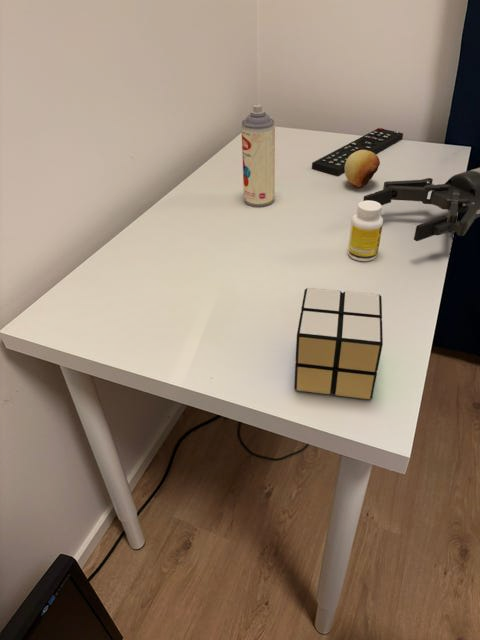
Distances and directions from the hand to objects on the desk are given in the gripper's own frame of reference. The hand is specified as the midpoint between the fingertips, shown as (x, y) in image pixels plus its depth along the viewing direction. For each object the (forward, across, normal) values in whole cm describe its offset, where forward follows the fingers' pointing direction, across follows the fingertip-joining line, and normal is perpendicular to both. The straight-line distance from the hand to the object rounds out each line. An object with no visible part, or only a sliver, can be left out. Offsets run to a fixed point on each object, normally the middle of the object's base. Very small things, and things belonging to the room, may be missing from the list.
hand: (388, 217), depth 87 cm
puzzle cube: (+28, +21, +6) cm, 35 cm away
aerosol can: (+10, -30, +6) cm, 32 cm away
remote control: (-26, -39, +6) cm, 48 cm away
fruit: (-14, -24, +6) cm, 28 cm away
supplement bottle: (+5, 0, +6) cm, 8 cm away
